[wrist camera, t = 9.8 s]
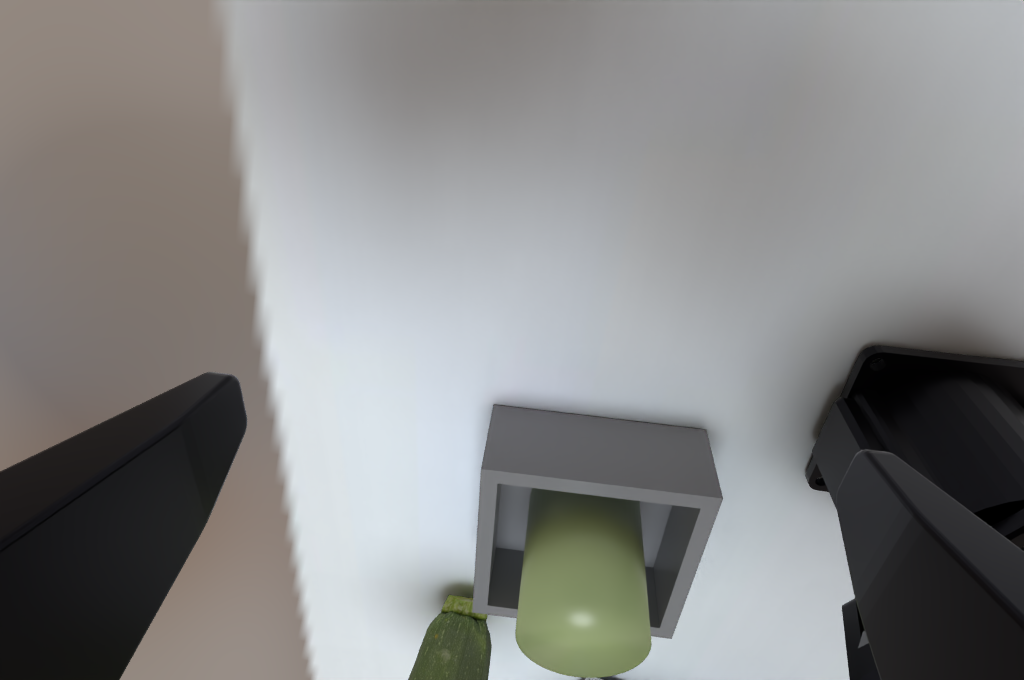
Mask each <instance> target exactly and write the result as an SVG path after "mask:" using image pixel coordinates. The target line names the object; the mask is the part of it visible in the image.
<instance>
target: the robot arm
mask: <svg viewBox="0 0 1024 680" xmlns="http://www.w3.org/2000/svg"><path fill="white" fill-rule="evenodd" d="M878 358H882V359H881V360H880V361H879V362H877V363H875V364H871V362H872V361H873V360H875V359H878ZM246 427H247V415H246V410H245V406H244V401H243V396H242V391H241V386H240V382H239V380H238V379H237V377H236V376H234V375H232V374H224V373H215V372H207V373H204V374H202V375H200V376H198V377H196V378H194V379H191V380H189V381H187V382H185V383H183V384H181V385H179V386H177V387H175V388H173V389H171V390H169V391H167V392H164V393H162V394H160V395H158V396H156V397H154V398H152V399H150V400H148V401H146V402H144V403H142V404H140V405H137V406H135V407H133V408H131V409H129V410H127V411H125V412H123V413H121V414H119V415H117V416H115V417H113V418H110V419H108V420H107V421H104V422H102V423H100V424H98V425H96V426H94V427H92V428H90V429H88V430H86V431H83V432H81V433H79V434H77V435H75V436H73V437H71V438H69V439H67V440H65V441H63V442H61V443H59V444H56V445H54V446H52V447H50V448H48V449H46V450H44V451H42V452H40V453H38V454H36V455H34V456H31V457H29V458H27V459H25V460H23V461H21V462H19V463H17V464H15V465H13V466H11V467H9V468H7V469H5V470H2V471H0V680H119V679H120V678H121V676H122V674H123V672H124V671H125V669H126V667H127V665H128V663H129V662H130V660H131V658H132V656H133V655H134V653H135V651H136V649H137V647H138V645H139V644H140V642H141V640H142V638H143V636H144V635H145V633H146V631H147V630H148V628H149V626H150V624H151V622H152V621H153V619H154V617H155V615H156V613H157V612H158V610H159V608H160V606H161V605H162V603H163V601H164V599H165V597H166V596H167V594H168V592H169V590H170V588H171V587H172V585H173V583H174V581H175V579H176V578H177V576H178V574H179V572H180V571H181V569H182V567H183V565H184V563H185V562H186V560H187V558H188V556H189V554H190V553H191V551H192V549H193V547H194V545H195V544H196V542H197V540H198V538H199V537H200V535H201V533H202V531H203V529H204V527H205V525H206V523H207V521H208V519H209V517H210V515H211V513H212V510H213V508H214V506H215V504H216V501H217V498H218V496H219V494H220V492H221V489H222V487H223V484H224V482H225V480H226V477H227V475H228V472H229V470H230V468H231V465H232V463H233V461H234V458H235V456H236V454H237V451H238V449H239V446H240V444H241V442H242V439H243V437H244V434H245V431H246ZM812 454H813V458H812V460H811V462H810V465H809V467H808V469H807V471H806V475H805V476H806V479H807V481H808V483H809V486H810V487H811V488H812V489H815V490H818V491H827V492H829V493H830V495H831V497H832V500H833V502H834V504H835V507H836V509H837V512H838V517H839V521H840V526H841V531H842V536H843V541H844V546H845V551H846V556H847V561H848V566H849V571H850V575H851V580H852V585H853V590H854V594H855V599H853V600H851V601H849V602H848V603H846V604H844V605H842V612H843V621H844V631H845V640H846V649H847V658H848V667H849V676H850V680H1024V362H1022V361H1013V360H1004V359H995V358H986V357H977V356H968V355H959V354H950V353H941V352H932V351H923V350H914V349H905V348H896V347H887V346H872V347H869V348H867V349H865V350H864V351H862V352H861V354H860V355H859V357H858V359H857V361H856V363H855V366H854V368H853V370H852V372H851V374H850V377H849V379H848V381H847V383H846V385H845V388H844V390H843V392H842V394H841V396H840V398H839V399H837V400H836V401H835V402H834V403H833V406H832V408H831V410H830V412H829V415H828V417H827V419H826V421H825V423H824V426H823V428H822V430H821V432H820V435H819V437H818V439H817V441H816V443H815V446H814V448H813V450H812ZM819 477H822V478H819ZM817 478H818V479H817Z"/></svg>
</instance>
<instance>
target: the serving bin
mask: <svg viewBox="0 0 1024 680" xmlns="http://www.w3.org/2000/svg"><path fill="white" fill-rule="evenodd" d="M532 488H538V489H546V490H554V491H562V492H570V493H578V494H586V495H594V496H602V497H610V498H619V499H627V500H635V501H640V511H641V523H642V535H643V547H644V559H645V571H646V583H647V596H648V608H649V620H650V632H651V636H654V637H662V638H670V639H672V636H673V634H674V631H675V628H676V626H677V623H678V620H679V617H680V615H681V612H682V609H683V606H684V604H685V601H686V598H687V595H688V593H689V590H690V587H691V585H692V582H693V579H694V576H695V574H696V571H697V568H698V565H699V563H700V560H701V557H702V554H703V552H704V549H705V546H706V544H707V541H708V538H709V535H710V533H711V530H712V527H713V524H714V522H715V519H716V516H717V513H718V511H719V508H720V505H721V503H722V500H723V497H722V493H721V489H720V484H719V480H718V476H717V472H716V468H715V464H714V460H713V456H712V452H711V448H710V444H709V439H708V435H707V431H706V430H703V429H694V428H686V427H678V426H669V425H661V424H652V423H644V422H635V421H627V420H618V419H610V418H601V417H593V416H584V415H576V414H567V413H559V412H550V411H542V410H534V409H525V408H517V407H508V406H500V405H493V410H492V416H491V421H490V426H489V431H488V436H487V441H486V447H485V452H484V457H483V462H482V467H481V479H480V496H479V512H478V528H477V544H476V561H475V577H474V593H473V609H472V612H473V613H481V614H488V615H496V616H503V617H511V618H517V614H518V604H519V595H520V586H521V576H522V567H523V557H524V548H525V539H526V529H527V520H528V511H529V501H530V494H531V491H532Z"/></svg>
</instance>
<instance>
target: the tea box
mask: <svg viewBox="0 0 1024 680" xmlns="http://www.w3.org/2000/svg"><path fill="white" fill-rule="evenodd" d="M585 680H602V679H599V678H586V679H585Z"/></svg>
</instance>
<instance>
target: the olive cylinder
mask: <svg viewBox="0 0 1024 680" xmlns="http://www.w3.org/2000/svg"><path fill="white" fill-rule="evenodd" d="M515 633H516V641H517V644H518V646H519V648H520V649H521V651H522V652H523V653H524V654H525V655H526V656H527V657H528V658H529V659H530V660H531V661H533V662H535V663H536V664H538V665H540V666H541V667H543V668H546V669H548V670H550V671H553V672H556V673H560V674H564V675H568V676H574V677H583V678H598V677H608V676H613V675H617V674H621V673H624V672H626V671H629V670H631V669H633V668H635V667H636V666H638V665H639V664H640V663H642V662H643V661H644V660H645V658H646V657H647V656H648V654H649V652H650V649H651V632H650V620H649V608H648V596H647V583H646V571H645V559H644V547H643V535H642V523H641V511H640V501H635V500H627V499H619V498H610V497H602V496H594V495H586V494H578V493H570V492H562V491H554V490H546V489H538V488H532V491H531V494H530V501H529V511H528V520H527V529H526V539H525V548H524V557H523V567H522V576H521V586H520V595H519V604H518V614H517V623H516V632H515Z"/></svg>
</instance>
